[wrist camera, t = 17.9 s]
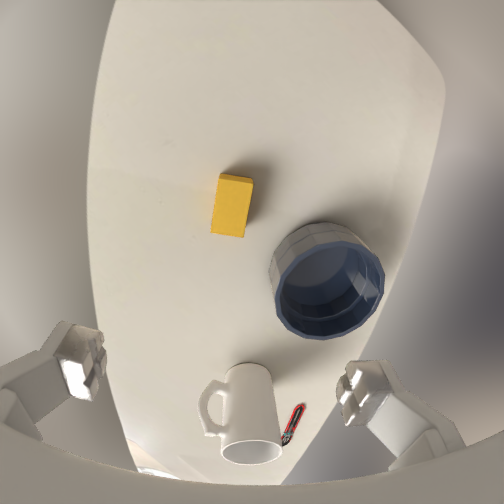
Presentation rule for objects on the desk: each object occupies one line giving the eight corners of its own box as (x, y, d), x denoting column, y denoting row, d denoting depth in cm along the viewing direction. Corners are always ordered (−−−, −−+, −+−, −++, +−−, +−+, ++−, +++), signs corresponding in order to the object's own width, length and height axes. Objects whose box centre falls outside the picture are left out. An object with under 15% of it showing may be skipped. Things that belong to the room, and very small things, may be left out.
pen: (307, 402, 41) (308, 406, 41) (287, 444, 47) (287, 447, 46) (295, 402, 41) (295, 406, 41) (276, 444, 47) (277, 447, 46)
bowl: (363, 213, 29) (386, 232, 24) (363, 298, 34) (380, 326, 29) (261, 230, 30) (267, 253, 25) (275, 316, 34) (281, 348, 29)
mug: (282, 371, 38) (295, 446, 27) (256, 397, 40) (261, 468, 29) (214, 344, 35) (209, 426, 24) (192, 375, 38) (183, 450, 27)
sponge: (220, 173, 27) (218, 178, 25) (252, 178, 27) (253, 183, 25) (212, 223, 29) (210, 232, 27) (242, 228, 29) (243, 238, 27)
